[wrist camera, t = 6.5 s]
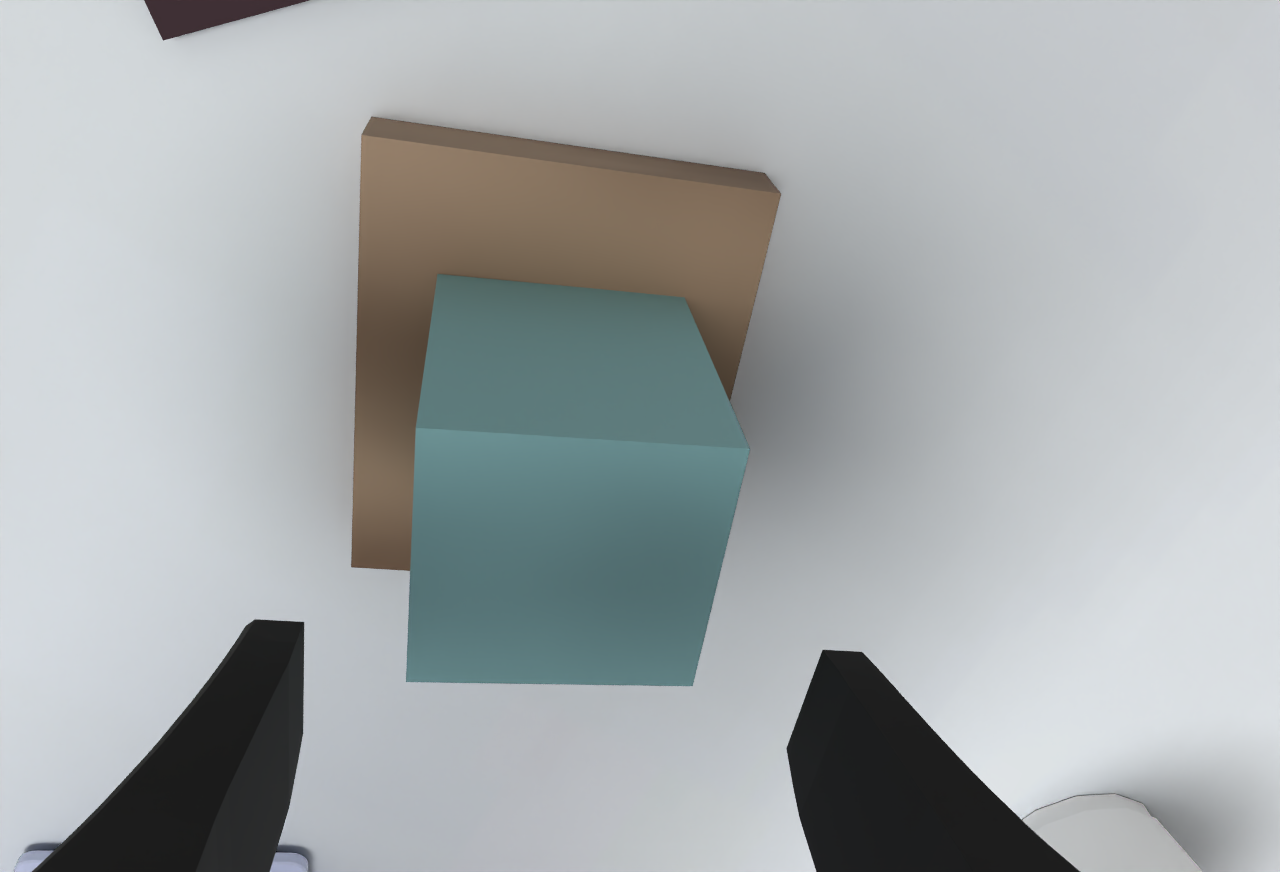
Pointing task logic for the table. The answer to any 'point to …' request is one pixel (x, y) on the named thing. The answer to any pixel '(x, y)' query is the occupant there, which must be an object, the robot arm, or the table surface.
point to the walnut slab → (525, 267)
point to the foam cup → (1109, 836)
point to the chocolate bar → (205, 13)
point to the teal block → (567, 487)
